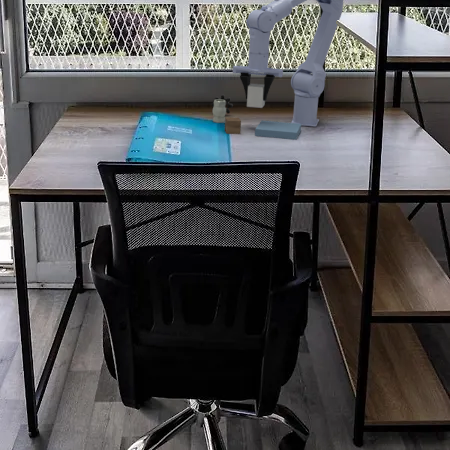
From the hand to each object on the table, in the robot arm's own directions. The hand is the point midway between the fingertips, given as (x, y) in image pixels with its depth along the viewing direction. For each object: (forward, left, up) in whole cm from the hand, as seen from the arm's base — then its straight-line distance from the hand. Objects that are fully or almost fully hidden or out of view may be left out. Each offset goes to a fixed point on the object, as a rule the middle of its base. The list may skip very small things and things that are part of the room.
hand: (256, 99), depth 244 cm
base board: (+3, +8, -9) cm, 12 cm away
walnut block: (+7, -5, -9) cm, 13 cm away
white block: (0, 0, -2) cm, 2 cm away
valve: (-9, -12, -9) cm, 18 cm away
